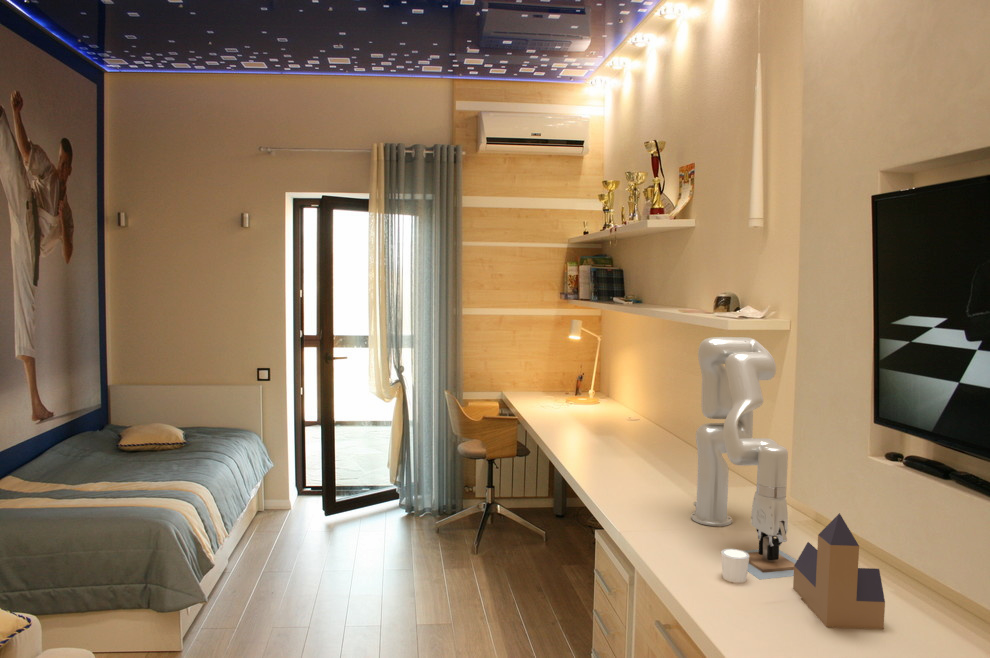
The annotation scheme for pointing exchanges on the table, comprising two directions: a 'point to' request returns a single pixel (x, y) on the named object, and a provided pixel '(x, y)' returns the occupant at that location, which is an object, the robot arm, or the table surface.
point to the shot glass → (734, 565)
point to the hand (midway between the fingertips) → (768, 556)
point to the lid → (769, 565)
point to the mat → (770, 575)
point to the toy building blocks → (839, 581)
